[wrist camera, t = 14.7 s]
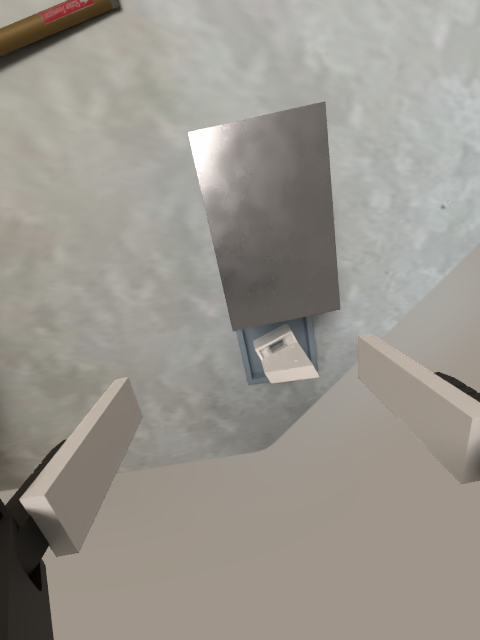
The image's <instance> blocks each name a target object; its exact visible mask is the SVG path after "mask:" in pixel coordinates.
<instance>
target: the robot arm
mask: <svg viewBox="0 0 480 640" xmlns="http://www.w3.org/2000/svg"><path fill="white" fill-rule="evenodd" d="M358 378H359V379H360V380H361V381H362V382H363V383H364V384H365V385H366V386H367V387H368V388H369V389H370V390H371V391H372V392H373V393H374V394H375V396H376V397H377V398H378V399H379V400H380V401H381V402H382V403H383V404H384V405H385V406H386V407H387V408H388V409H389V410H390V411H391V412H392V413H393V414H394V415H395V416H396V417H397V418H398V419H399V420H400V421H401V422H402V423H403V424H404V425H405V426H406V428H408V430H410V432H411V433H413V435H414V436H415V437H416V438H417V439H418V440H419V441H420V442H421V443H422V444H423V445H424V446H425V447H426V448H427V449H428V450H429V451H430V452H431V453H432V454H433V455H434V456H435V457H436V458H437V459H438V461H439V462H440V463H441V464H442V465H444V467H445V468H446V469H447V470H448V471H449V472H450V473H451V474H452V475H453V476H454V477H455V478H456V479H457V480H458V481H459V482H460V483H461V484H463V483H469V482H474V481H480V393H477V391H475V390H474V389H472V388H471V387H467V386H466V385H465V384H464V383H462V382H460V381H459V380H457V379H455V378H454V377H451V376H448V375H446V374H443V373H440V372H436V373H432V372H431V371H429V370H428V369H426V368H425V367H423V366H421V365H420V364H418V363H417V362H415V361H414V360H412V359H410V358H409V357H407V356H406V355H404V354H402V353H401V352H399V351H398V350H396V349H395V348H393V347H392V346H390V345H388V344H387V343H385V342H384V341H382V340H381V339H379V338H377V337H376V336H374V335H373V334H366V335H361V336H358ZM142 417H143V416H142V413H141V410H140V408H139V405H138V402H137V399H136V397H135V394H134V391H133V388H132V386H131V383H130V380H129V377H126V378H121V379H115V380H114V381H113V383H112V384H111V385H110V386H109V388H108V389H107V390H106V391H105V393H104V394H103V395H102V396H101V398H100V399H99V400H98V401H97V403H96V404H95V405H94V406H93V408H92V409H91V410H90V411H89V413H88V414H87V415H86V417H85V418H84V419H83V420H82V422H81V423H80V424H79V425H78V427H77V428H76V429H75V430H74V432H73V433H72V434H71V435H70V437H69V438H68V439H67V440H63V441H62V442H61V443H60V444H58V445H57V446H56V447H55V448H53V449H52V450H51V451H50V452H49V454H48V455H47V456H46V457H45V458H44V460H43V461H42V463H41V464H39V466H38V467H37V468H36V469H35V470H34V473H33V474H31V475H30V476H29V478H28V479H27V480H26V481H25V482H24V484H23V485H22V486H21V487H20V488H19V490H18V491H17V492H16V493H15V494H14V496H13V497H12V498H11V499H10V500H9V502H8V503H7V504H6V505H4V503H3V502H2V501H1V499H0V640H54V639H53V630H52V621H51V613H50V603H49V594H48V585H47V576H46V566H45V564H44V562H43V560H42V559H41V558H42V557H43V555H44V553H45V552H46V550H47V548H48V546H50V548H51V549H52V551H53V552H54V554H55V555H56V557H57V556H63V555H69V554H74V553H79V551H80V549H81V547H82V544H83V542H84V540H85V538H86V536H87V534H88V532H89V530H90V528H91V526H92V523H93V521H94V519H95V517H96V515H97V513H98V511H99V509H100V507H101V504H102V502H103V500H104V498H105V496H106V494H107V492H108V489H109V487H110V485H111V483H112V481H113V479H114V477H115V475H116V473H117V470H118V468H119V466H120V464H121V462H122V460H123V458H124V456H125V453H126V451H127V449H128V447H129V445H130V443H131V441H132V439H133V437H134V434H135V432H136V430H137V428H138V426H139V424H140V422H141V420H142Z"/></svg>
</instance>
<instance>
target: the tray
mask: <svg viewBox="0 0 480 640" xmlns="http://www.w3.org/2000/svg"><path fill="white" fill-rule="evenodd" d="M286 323H287V325H288V326H289V328H290V329H291V331H292V333H293V334H294V336H295V338H296V340H297V342H298V343H299V345H300V346H301V348H302V349H303V351H304V352H305V354H306V355H307V357H308V358H309V360H310V361H311V363H312V364H313V366H314V368H315V370H316V371H317V372H318V367H317V358H316V349H315V340H314V331H313V322H312V315H311V316H306V317H301V318H296V319H291V320H286V321H281V322H276V323H271V324H266V325H261V326H257V327H252V328H247V329H242V330H237V331H236V332H237V336H238V341H239V345H240V350H241V354H242V359H243V363H244V368H245V372H246V377H247V381H248V385H252V384H257V383H262V382H267V381H269V380H268V378H267V376H266V375H265V373H264V369H263V365H262V362H261V359H260V357H259V356H258V354H257V352H256V351H255V348H254V343H253V341H254V340H256V339H258V338H260V337H261V336H263V335H265V334H267V333H269V332H271V331H273V330H275V329H276V328H278V327H280V326H282V325H284V324H286ZM282 342H283V341H282V340H281V341H279V342H277V343H275V344H273V345H271V346H269V347H270V349H271V348H272V347H274V346H276V345H278V344H280V343H282Z"/></svg>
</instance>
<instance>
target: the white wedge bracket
mask: <svg viewBox="0 0 480 640" xmlns="http://www.w3.org/2000/svg"><path fill="white" fill-rule="evenodd" d="M281 340H282V341H283V342H282V343H280V344H278V345H276V346H274V347H272V348H271V349H270V347H269V346H271V345H273V344H275V343H277V342H279V341H281ZM253 343H254V348H255V351H256V352H257V354H258V356H259V357H260V359H261V362H262V365H263V369H264V373H265V375H266V376H267V378H268V380H269V381H270V383H278V382H286V381H294V380H302V379H310V378H318V377H319V375H318V373H317V371H316V370H315V368H314V366H313V364H312V363H311V361H310V360H309V358H308V357H307V355H306V354H305V352H304V351H303V349H302V348H301V346H300V345H299V343H298V342H297V340H296V338H295V336H294V334H293V333H292V331H291V329H290V328H289V326H288V325H287V323H286V324H284V325H282V326H280V327H278V328H276V329H275V330H273V331H271V332H269V333H267V334H265V335H263V336H261V337H260V338H258V339H256V340H254V341H253Z"/></svg>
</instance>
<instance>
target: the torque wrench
mask: <svg viewBox="0 0 480 640" xmlns="http://www.w3.org/2000/svg"><path fill="white" fill-rule="evenodd" d="M119 7H120V6H119V4H118V1H117V0H67V1H65V2H63V3H60V4H58V5H56V6H53V7H51V8H48V9H46V10H44V11H41V12H39V13H36V14H34V15H32V16H29V17H27V18H25V19H22V20H20V21H17V22H15V23H13V24H10V25H8V26H6V27H3V28H1V29H0V56H2V55H5V54H7V53H9V52H12V51H14V50H17V49H19V48H21V47H24V46H26V45H29V44H31V43H33V42H36V41H38V40H41V39H43V38H45V37H48V36H50V35H53V34H55V33H57V32H60V31H62V30H65V29H67V28H69V27H72V26H74V25H77V24H79V23H81V22H84V21H86V20H88V19H91V18H93V17H96V16H98V15H100V14H103V13H105V12H108V11H110V10H112V9H117V8H119Z"/></svg>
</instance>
